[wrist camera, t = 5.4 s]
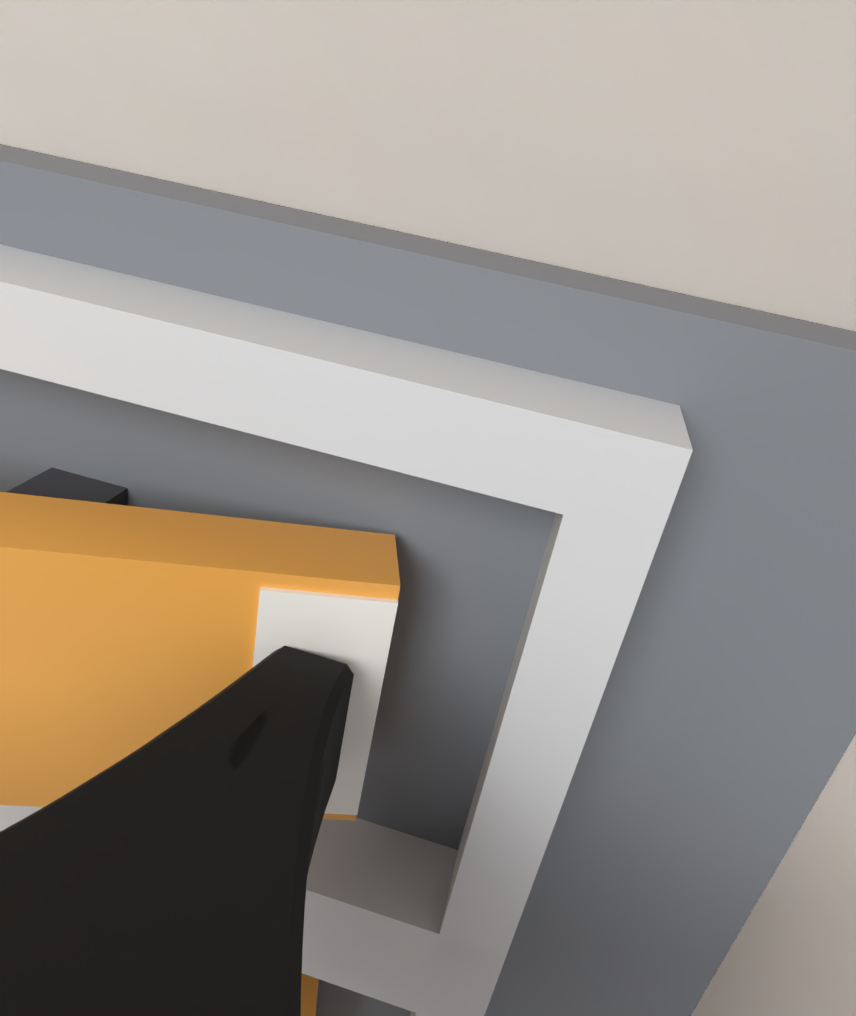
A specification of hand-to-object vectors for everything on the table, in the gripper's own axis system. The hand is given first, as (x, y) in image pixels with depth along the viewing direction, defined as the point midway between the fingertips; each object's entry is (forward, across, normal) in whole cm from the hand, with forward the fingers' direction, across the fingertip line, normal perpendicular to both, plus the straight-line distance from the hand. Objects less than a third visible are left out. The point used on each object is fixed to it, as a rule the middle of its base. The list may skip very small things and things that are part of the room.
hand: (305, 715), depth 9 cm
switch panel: (+3, +4, +5) cm, 7 cm away
